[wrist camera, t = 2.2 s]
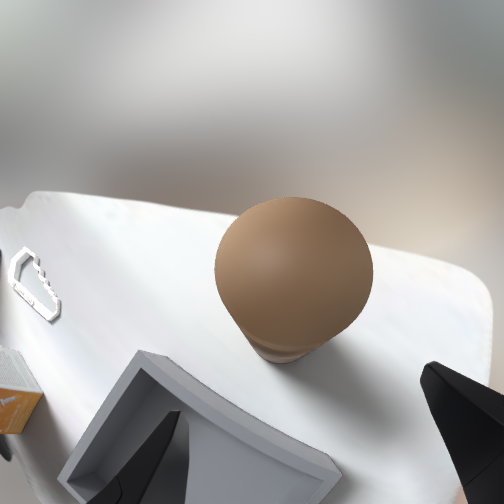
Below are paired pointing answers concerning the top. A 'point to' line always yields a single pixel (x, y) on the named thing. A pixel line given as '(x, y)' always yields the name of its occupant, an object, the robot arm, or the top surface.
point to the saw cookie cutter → (14, 281)
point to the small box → (16, 392)
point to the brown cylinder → (292, 275)
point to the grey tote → (196, 443)
